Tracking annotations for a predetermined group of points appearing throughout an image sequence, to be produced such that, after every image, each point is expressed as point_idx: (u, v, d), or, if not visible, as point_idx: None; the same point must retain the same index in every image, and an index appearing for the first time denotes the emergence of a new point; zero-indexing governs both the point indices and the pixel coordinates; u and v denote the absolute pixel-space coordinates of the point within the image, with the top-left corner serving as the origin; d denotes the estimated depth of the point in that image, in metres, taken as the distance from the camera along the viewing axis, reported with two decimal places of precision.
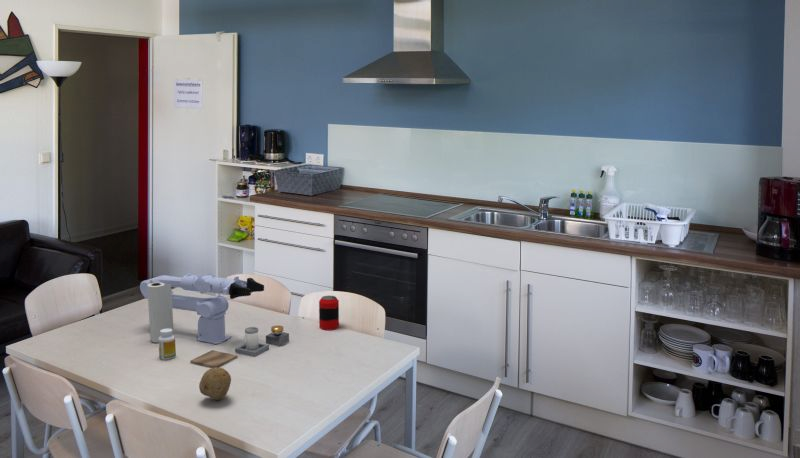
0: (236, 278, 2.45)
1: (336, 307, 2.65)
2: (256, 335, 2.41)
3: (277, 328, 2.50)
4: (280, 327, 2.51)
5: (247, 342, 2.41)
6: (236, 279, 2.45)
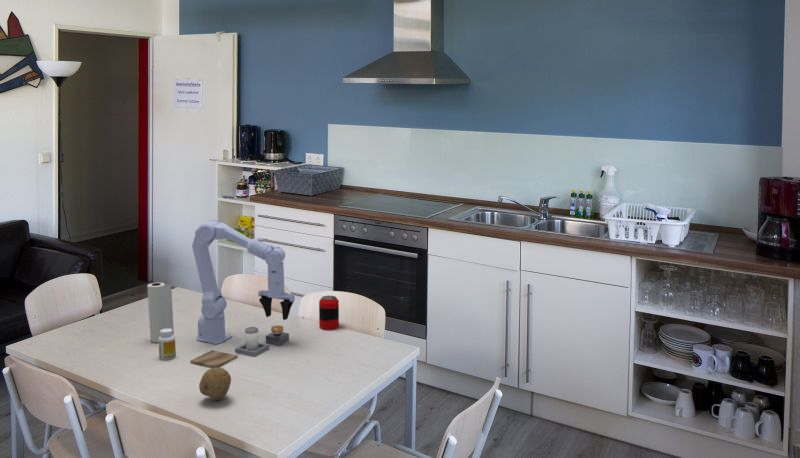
0: None
1: (336, 307, 2.65)
2: (256, 335, 2.41)
3: (277, 328, 2.50)
4: (280, 327, 2.51)
5: (247, 342, 2.41)
6: None
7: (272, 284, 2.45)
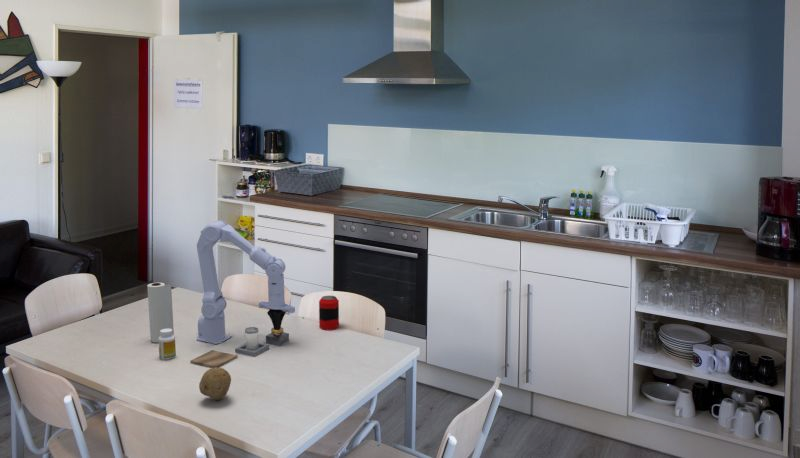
0: None
1: (336, 307, 2.65)
2: (256, 335, 2.41)
3: (277, 330, 2.50)
4: (280, 329, 2.51)
5: (247, 342, 2.41)
6: None
7: (272, 296, 2.46)
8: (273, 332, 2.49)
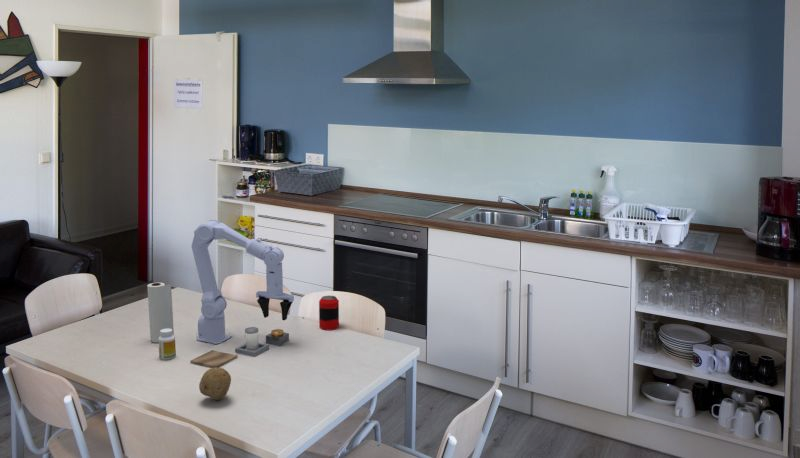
0: None
1: (336, 307, 2.65)
2: (256, 335, 2.41)
3: (277, 332, 2.50)
4: (280, 331, 2.51)
5: (247, 342, 2.41)
6: None
7: (271, 285, 2.44)
8: (273, 334, 2.49)
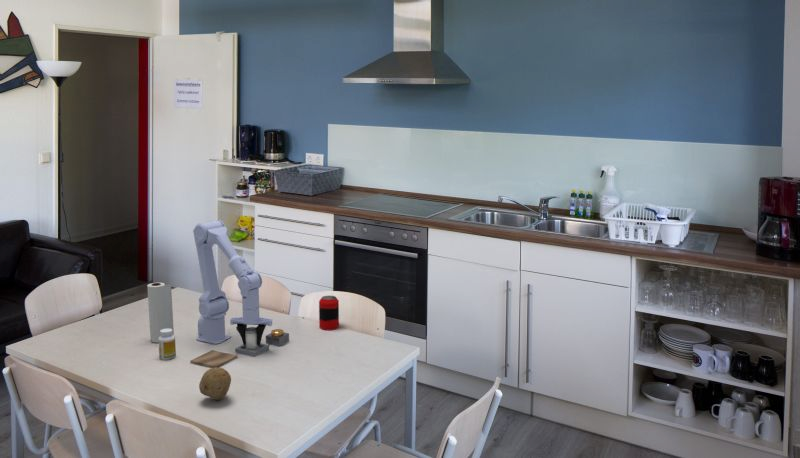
0: None
1: (336, 307, 2.65)
2: (256, 335, 2.41)
3: (277, 332, 2.50)
4: (280, 331, 2.51)
5: (247, 342, 2.41)
6: None
7: (249, 310, 2.37)
8: (273, 334, 2.49)
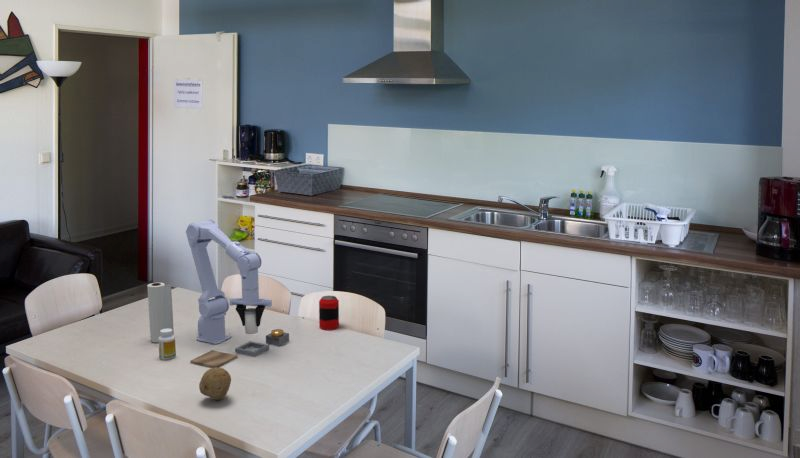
0: None
1: (336, 307, 2.65)
2: (255, 316, 2.40)
3: (277, 332, 2.50)
4: (280, 331, 2.51)
5: (246, 323, 2.39)
6: None
7: (249, 291, 2.36)
8: (273, 334, 2.49)
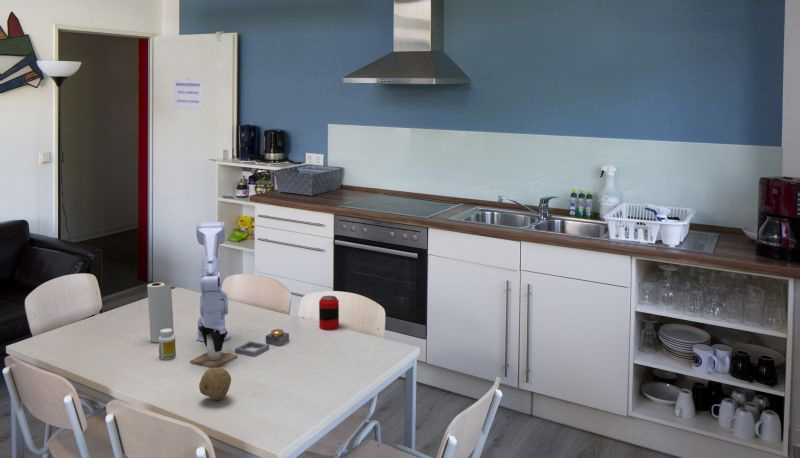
0: None
1: (336, 307, 2.65)
2: None
3: (277, 332, 2.50)
4: (280, 331, 2.51)
5: (207, 347, 2.33)
6: None
7: (205, 313, 2.29)
8: (273, 334, 2.49)
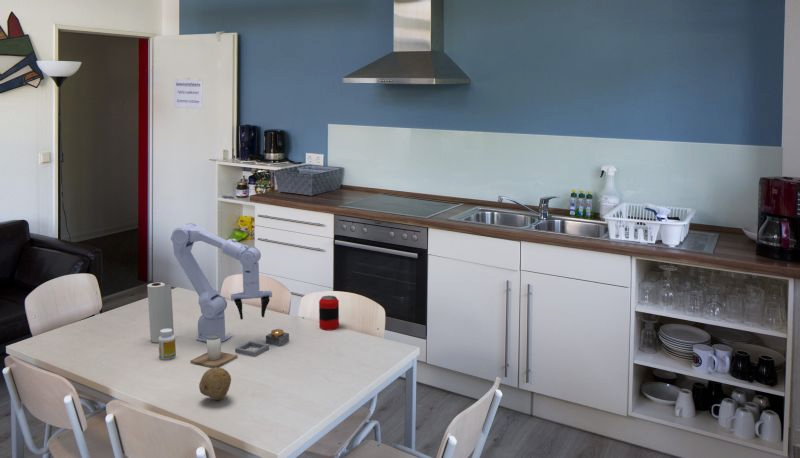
0: None
1: (336, 307, 2.65)
2: (213, 342, 2.31)
3: (277, 332, 2.50)
4: (280, 331, 2.51)
5: (207, 347, 2.33)
6: None
7: (253, 284, 2.45)
8: (273, 334, 2.49)
